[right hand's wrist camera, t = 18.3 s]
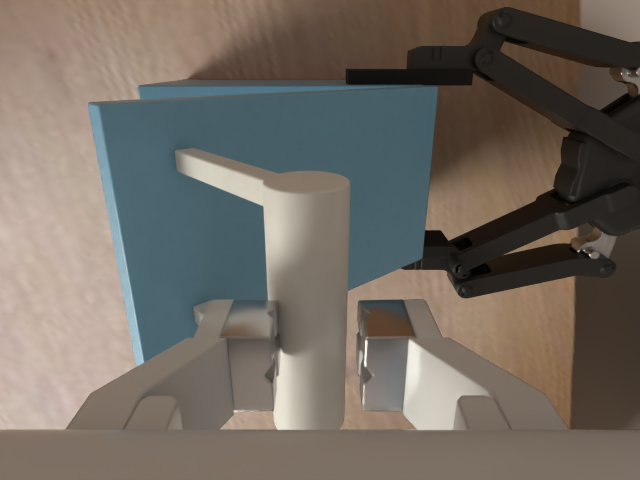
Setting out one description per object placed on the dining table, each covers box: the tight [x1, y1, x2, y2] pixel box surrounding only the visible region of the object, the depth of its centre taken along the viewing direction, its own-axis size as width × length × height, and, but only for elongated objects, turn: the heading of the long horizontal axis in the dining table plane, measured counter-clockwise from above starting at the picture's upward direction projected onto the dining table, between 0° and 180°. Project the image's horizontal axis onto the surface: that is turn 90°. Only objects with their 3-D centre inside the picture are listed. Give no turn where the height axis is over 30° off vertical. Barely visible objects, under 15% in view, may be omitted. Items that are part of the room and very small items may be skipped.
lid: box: [88, 86, 438, 430], centre depth 16 cm, size 16×9×8 cm
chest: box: [138, 79, 426, 100], centre depth 28 cm, size 15×9×9 cm, turn 90°
